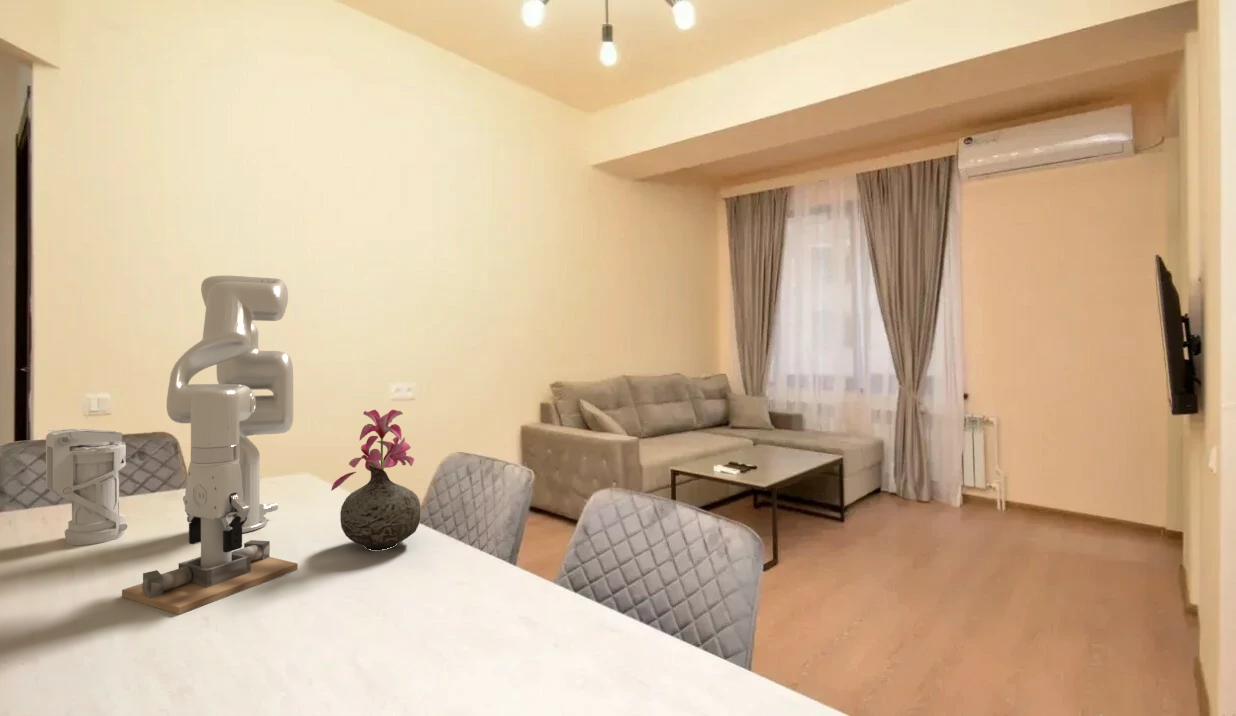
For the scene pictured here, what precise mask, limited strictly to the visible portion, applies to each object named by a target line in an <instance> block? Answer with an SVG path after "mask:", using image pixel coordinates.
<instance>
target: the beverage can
mask: <svg viewBox="0 0 1236 716" xmlns="http://www.w3.org/2000/svg"><path fill="white" fill-rule="evenodd" d="M230 512H231V511H230ZM227 513H229V512H227ZM229 520H230V522H231V521H232V517H231V518H229ZM224 530H226V528H225V526H224V524H223V522H222V520H221V518H220V519H218V520H209V519H204V518H201V542H200V557H201V567H204V568H208V569H209V568H212V567H215V566H218V565H221V564H224V563H228V562H231V561H232V552H233V551H230V552H227V553H226V552H223V531H224Z"/></svg>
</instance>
